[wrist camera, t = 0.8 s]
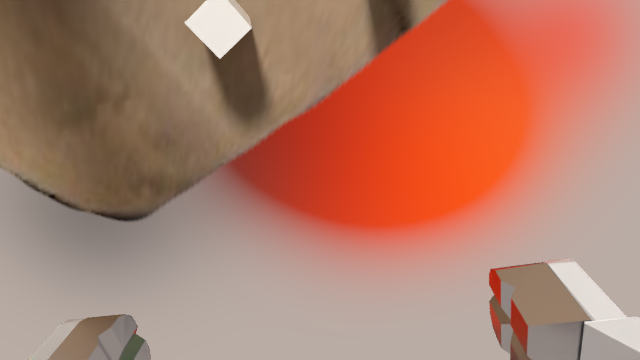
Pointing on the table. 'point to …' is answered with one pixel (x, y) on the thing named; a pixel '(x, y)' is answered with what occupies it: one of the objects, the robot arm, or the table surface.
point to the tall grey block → (220, 24)
